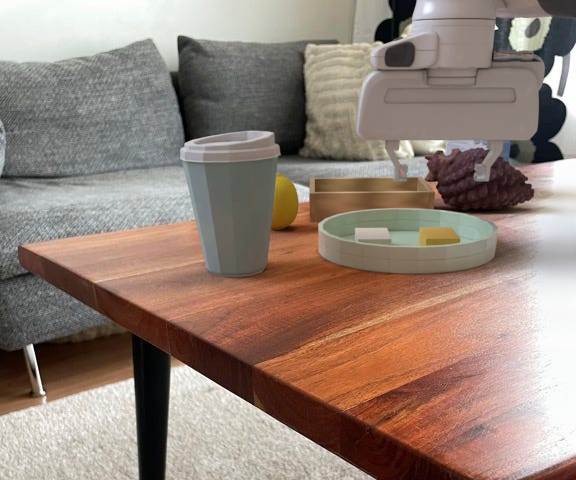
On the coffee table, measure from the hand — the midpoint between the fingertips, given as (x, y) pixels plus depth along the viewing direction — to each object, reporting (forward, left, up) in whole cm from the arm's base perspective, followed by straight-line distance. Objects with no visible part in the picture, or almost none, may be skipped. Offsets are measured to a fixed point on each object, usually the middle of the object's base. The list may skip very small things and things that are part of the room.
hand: (440, 180), depth 84 cm
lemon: (+20, -12, -9) cm, 25 cm away
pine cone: (-10, -27, -9) cm, 30 cm away
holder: (+7, -23, -9) cm, 25 cm away
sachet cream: (+8, 0, -8) cm, 11 cm away
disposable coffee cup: (+24, +8, -9) cm, 27 cm away
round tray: (+4, 0, -9) cm, 9 cm away
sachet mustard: (0, 0, -8) cm, 8 cm away
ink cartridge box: (-12, -39, -9) cm, 42 cm away
